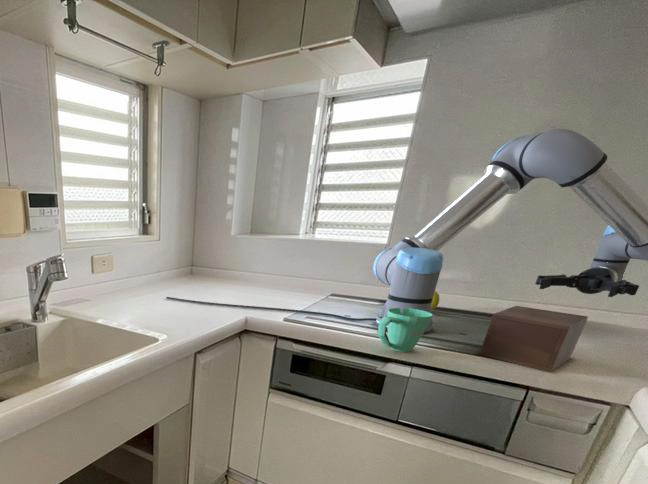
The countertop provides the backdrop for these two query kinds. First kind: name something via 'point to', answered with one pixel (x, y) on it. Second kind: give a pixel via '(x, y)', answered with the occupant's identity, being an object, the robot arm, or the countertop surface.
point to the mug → (403, 328)
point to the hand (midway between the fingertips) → (575, 287)
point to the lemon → (435, 300)
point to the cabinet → (532, 337)
